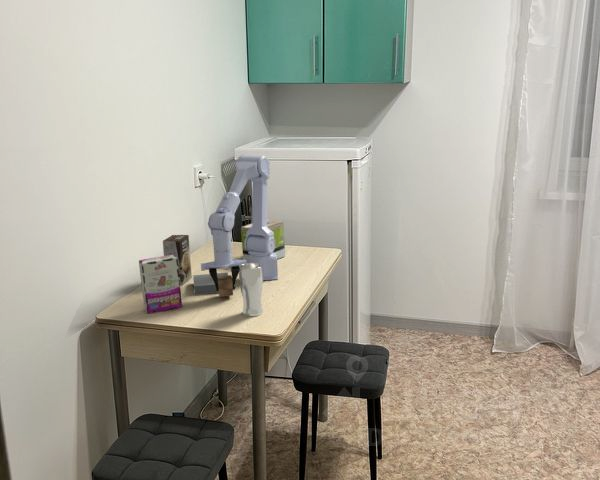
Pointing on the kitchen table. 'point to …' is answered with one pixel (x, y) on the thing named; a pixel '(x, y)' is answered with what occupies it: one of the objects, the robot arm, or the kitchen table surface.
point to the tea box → (278, 237)
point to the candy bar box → (160, 283)
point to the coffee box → (179, 254)
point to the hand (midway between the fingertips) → (225, 289)
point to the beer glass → (251, 288)
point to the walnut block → (225, 285)
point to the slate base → (205, 283)
